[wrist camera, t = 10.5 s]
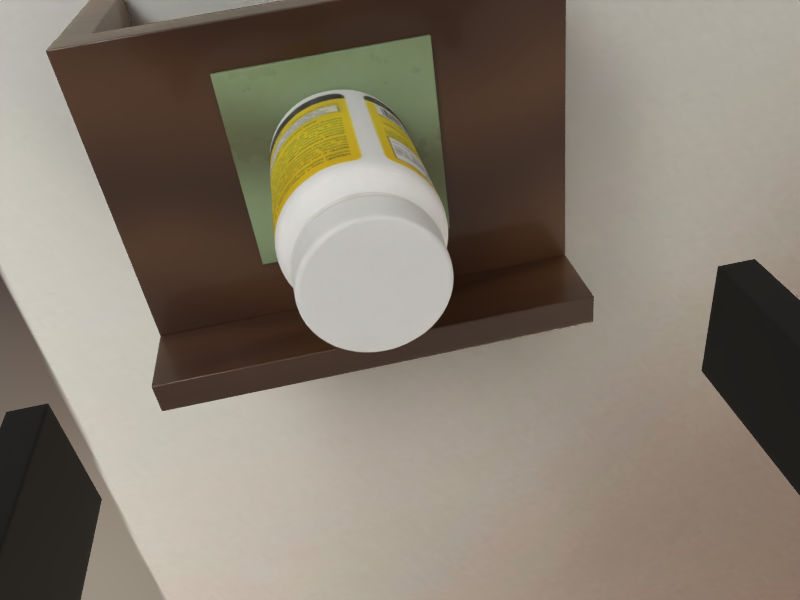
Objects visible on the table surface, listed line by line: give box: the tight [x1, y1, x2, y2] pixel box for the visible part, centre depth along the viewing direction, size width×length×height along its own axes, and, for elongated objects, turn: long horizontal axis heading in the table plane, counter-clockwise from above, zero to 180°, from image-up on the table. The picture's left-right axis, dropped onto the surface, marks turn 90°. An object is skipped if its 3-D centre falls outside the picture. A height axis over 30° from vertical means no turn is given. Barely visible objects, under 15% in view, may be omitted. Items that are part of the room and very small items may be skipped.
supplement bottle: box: [269, 90, 454, 352], centre depth 21 cm, size 5×5×8 cm
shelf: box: [46, 0, 594, 411], centre depth 27 cm, size 12×16×10 cm
